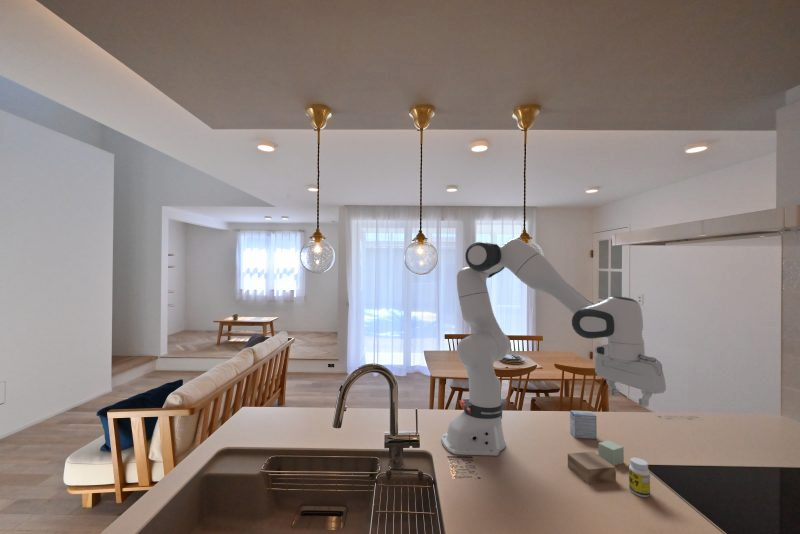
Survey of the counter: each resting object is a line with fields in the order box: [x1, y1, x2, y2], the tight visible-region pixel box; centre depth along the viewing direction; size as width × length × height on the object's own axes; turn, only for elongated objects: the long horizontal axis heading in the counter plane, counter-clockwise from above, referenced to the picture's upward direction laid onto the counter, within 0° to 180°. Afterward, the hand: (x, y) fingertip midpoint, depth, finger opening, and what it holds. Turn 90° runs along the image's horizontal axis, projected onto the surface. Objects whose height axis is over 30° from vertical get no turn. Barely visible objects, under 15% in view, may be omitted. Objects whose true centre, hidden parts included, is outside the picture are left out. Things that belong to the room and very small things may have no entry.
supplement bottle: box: [628, 457, 651, 498], centre depth 94 cm, size 5×5×8 cm
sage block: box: [597, 439, 625, 467], centre depth 110 cm, size 5×5×5 cm
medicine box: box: [569, 410, 598, 440], centre depth 127 cm, size 8×4×9 cm, turn 84°
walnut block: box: [567, 451, 617, 485], centre depth 102 cm, size 9×9×4 cm
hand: (628, 400), depth 98 cm, fingers open, 8 cm apart
